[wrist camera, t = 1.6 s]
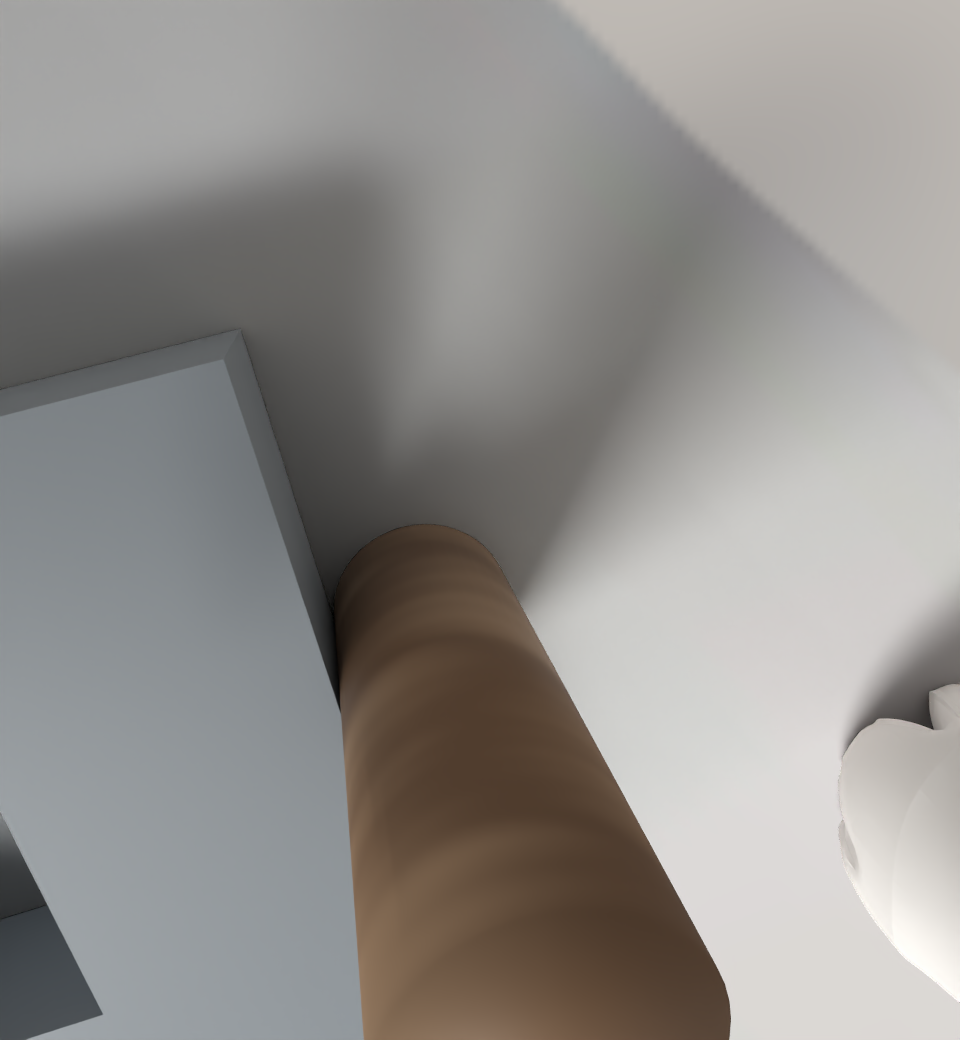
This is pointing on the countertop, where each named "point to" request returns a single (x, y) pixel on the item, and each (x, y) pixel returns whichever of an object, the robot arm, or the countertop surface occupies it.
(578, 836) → the peg
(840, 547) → the countertop surface
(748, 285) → the countertop surface
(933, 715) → the water bottle
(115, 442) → the socket board
